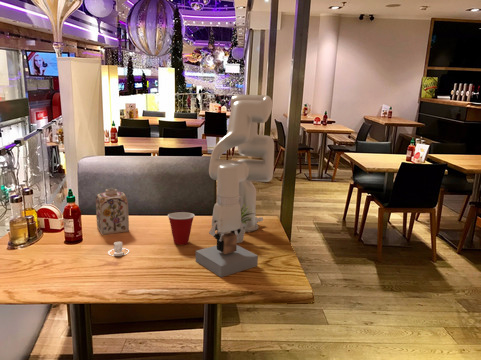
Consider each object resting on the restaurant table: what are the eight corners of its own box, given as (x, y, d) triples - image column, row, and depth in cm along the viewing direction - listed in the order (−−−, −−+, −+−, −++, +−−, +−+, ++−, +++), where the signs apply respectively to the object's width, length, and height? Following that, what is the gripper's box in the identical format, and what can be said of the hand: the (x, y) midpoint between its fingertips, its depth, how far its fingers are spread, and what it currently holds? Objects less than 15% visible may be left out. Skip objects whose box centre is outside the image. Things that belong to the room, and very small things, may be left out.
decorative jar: (96, 227, 180) (94, 187, 177) (123, 223, 186) (121, 185, 182) (101, 235, 170) (99, 194, 166) (129, 231, 176) (128, 191, 172)
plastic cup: (194, 237, 171) (194, 210, 169) (194, 247, 161) (194, 218, 158) (168, 237, 170) (168, 210, 167) (166, 247, 160) (166, 218, 157)
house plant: (240, 251, 158) (241, 211, 155) (212, 243, 166) (212, 204, 162) (259, 240, 170) (260, 203, 166) (232, 233, 177) (233, 197, 174)
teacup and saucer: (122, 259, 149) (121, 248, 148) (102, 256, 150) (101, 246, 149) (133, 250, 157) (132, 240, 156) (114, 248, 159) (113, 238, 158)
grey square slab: (230, 251, 158) (230, 241, 157) (257, 266, 145) (257, 255, 144) (195, 261, 148) (195, 250, 147) (220, 277, 136) (221, 266, 135)
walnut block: (228, 246, 149) (228, 231, 148) (236, 250, 145) (236, 235, 144) (216, 249, 146) (217, 233, 145) (225, 254, 142) (225, 237, 141)
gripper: (240, 194, 150) (238, 240, 153) (201, 200, 139) (200, 250, 143) (253, 198, 144) (251, 247, 148) (213, 206, 133) (212, 257, 137)
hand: (226, 248), depth 145 cm, fingers closed on walnut block, 4 cm apart
